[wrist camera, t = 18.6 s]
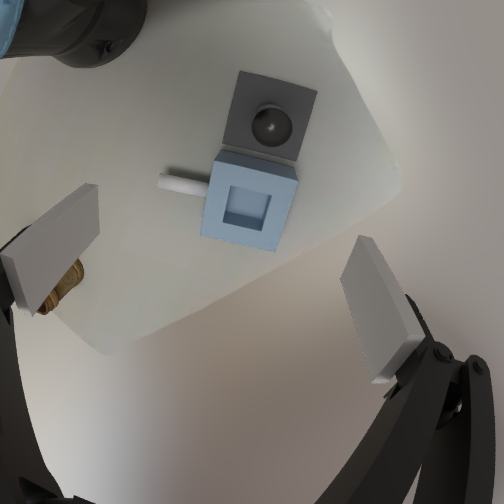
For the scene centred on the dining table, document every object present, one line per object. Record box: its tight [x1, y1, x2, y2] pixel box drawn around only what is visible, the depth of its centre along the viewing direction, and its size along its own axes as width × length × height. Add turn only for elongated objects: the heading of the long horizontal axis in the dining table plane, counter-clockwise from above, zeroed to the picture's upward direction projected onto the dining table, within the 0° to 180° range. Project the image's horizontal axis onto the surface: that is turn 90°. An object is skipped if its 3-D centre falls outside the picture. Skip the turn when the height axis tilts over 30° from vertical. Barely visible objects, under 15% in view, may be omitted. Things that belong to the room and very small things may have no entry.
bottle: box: [252, 102, 293, 147], centre depth 29 cm, size 4×4×12 cm
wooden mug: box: [36, 259, 84, 315], centre depth 40 cm, size 9×14×18 cm, turn 25°
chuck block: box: [157, 150, 299, 252], centre depth 37 cm, size 10×17×6 cm, turn 76°
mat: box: [222, 71, 317, 161], centre depth 34 cm, size 10×10×1 cm
